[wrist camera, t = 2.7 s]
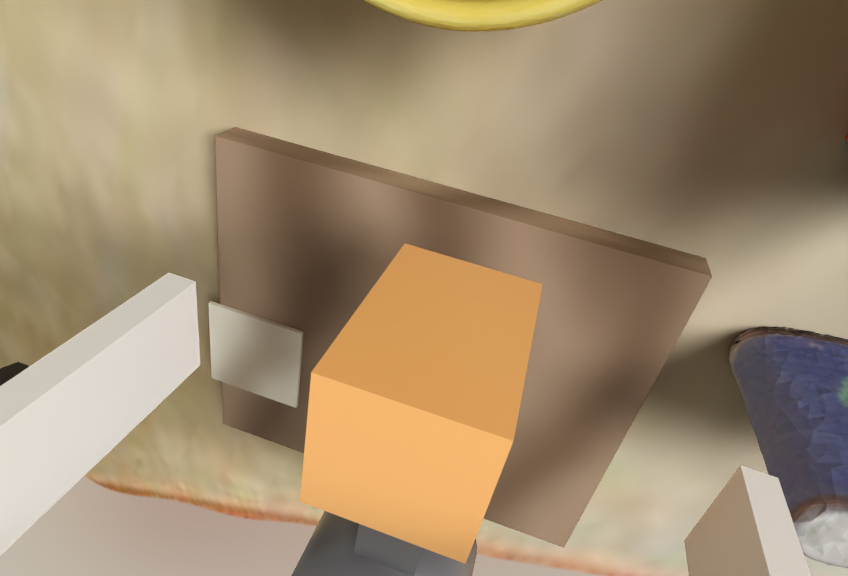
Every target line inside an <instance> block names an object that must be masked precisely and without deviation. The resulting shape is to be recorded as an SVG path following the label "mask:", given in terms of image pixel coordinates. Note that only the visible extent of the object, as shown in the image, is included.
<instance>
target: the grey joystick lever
mask: <svg viewBox="0 0 848 576" xmlns="http://www.w3.org/2000/svg"><path fill="white" fill-rule="evenodd" d="M542 285H543V284H540V283H537V282H533V281H530V280H527V279H523V278H520V277H517V276H513V275H510V274H506V273H503V272H500V271H496V270H493V269H490V268H486V267H483V266H480V265H476V264H473V263H469V262H466V261H463V260H459V259H456V258H453V257H449V256H446V255H443V254H439V253H436V252H432V251H429V250H426V249H422V248H419V247H416V246H412V245H409V244H406V243H405V244H404V245H403V246H402V248H401V249H400V251H399V252H398V253H397V255H396V256H395V258H394V259H393V260H392V262H391V263H390V264H389V266H388V267H387V269H386V270H385V271H384V273H383V274H382V275H381V277H380V278H379V280H378V281H377V282H376V284H375V285H374V286H373V288H372V289H371V291H370V292H369V293H368V295H367V296H366V298H365V299H364V300H363V302H362V303H361V304H360V306H359V307H358V309H357V310H356V311H355V313H354V314H353V315H352V317H351V318H350V320H349V321H348V322H347V324H346V325H345V326H344V328H343V329H342V331H341V332H340V333H339V335H338V336H337V338H336V339H335V340H334V342H333V343H332V344H331V346H330V347H329V349H328V350H327V351H326V353H325V354H324V355H323V357H322V358H321V360H320V361H319V362H318V364H317V365H316V367H315V368H314V369H313V371H312V372H311V381H310V392H309V403H308V414H307V426H306V437H305V448H304V459H303V471H302V482H301V493H300V502H303V503H305V504H308V505H311V506H313V507H316V508H319V509H321V510H324V511H325V512H324V514H323V516H322V517H321V519H320V521H319V523H318V525H317V527H316V529H315V531H314V533H313V535H312V537H311V539H310V541H309V543H308V545H307V547H306V549H305V551H304V553H303V555H302V557H301V558H300V560H299V562H298V564H297V566H296V568H295V570H294V572H293V574H292V576H472V572H473V568H474V564H475V559H476V554H477V544H476V539H475V538H476V536H477V533H478V531H479V528H480V526H481V523H482V521H483V518H484V515H485V513H486V510H487V508H488V505H489V503H490V500H491V497H492V495H493V492H494V490H495V487H496V485H497V482H498V479H499V477H500V474H501V472H502V469H503V467H504V464H505V462H506V459H507V456H508V454H509V451H510V449H511V446H512V444H513V441H514V435H515V430H516V425H517V419H518V414H519V409H520V403H521V398H522V392H523V387H524V382H525V376H526V371H527V366H528V360H529V355H530V349H531V344H532V339H533V333H534V328H535V323H536V317H537V312H538V306H539V301H540V296H541V290H542Z"/></svg>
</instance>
